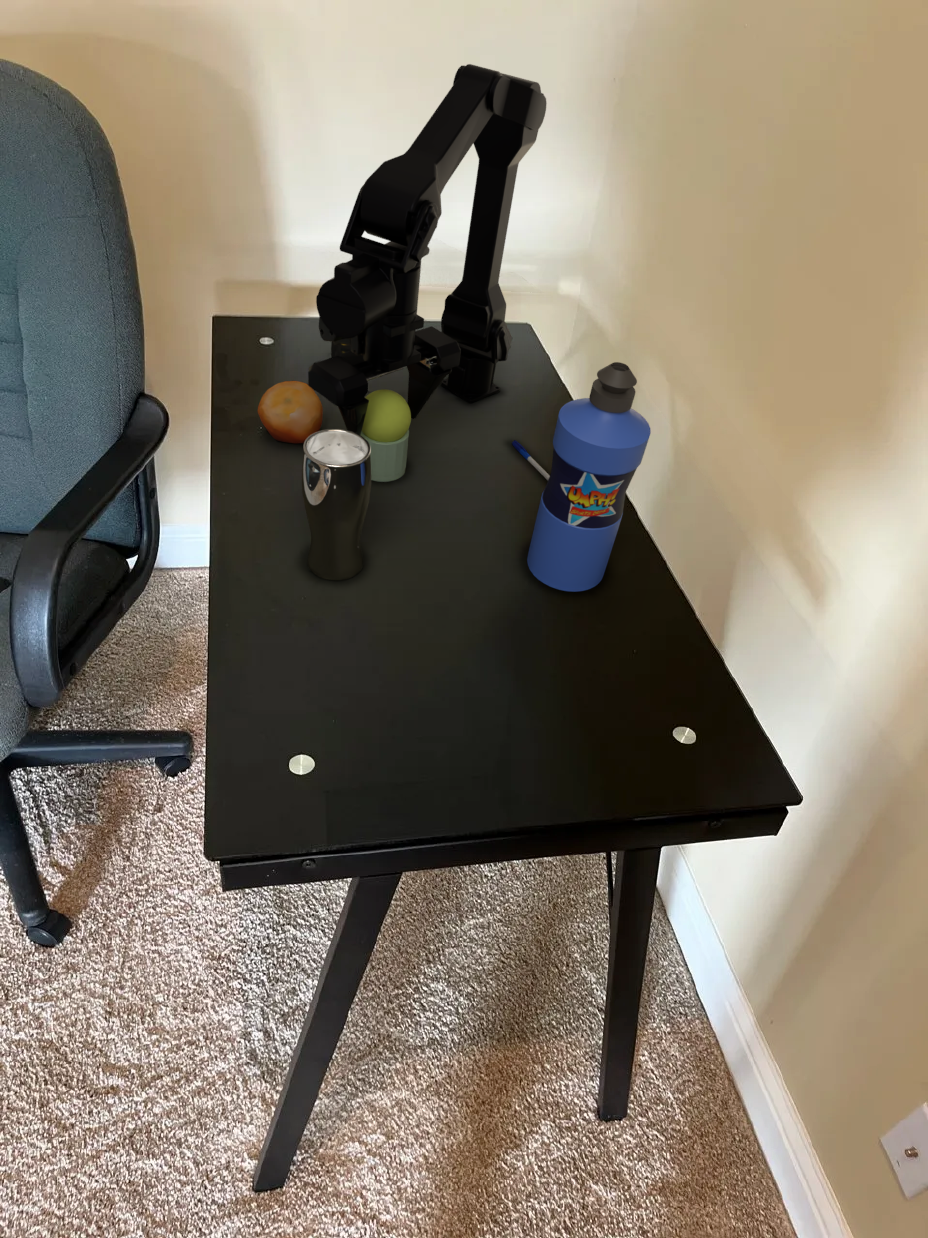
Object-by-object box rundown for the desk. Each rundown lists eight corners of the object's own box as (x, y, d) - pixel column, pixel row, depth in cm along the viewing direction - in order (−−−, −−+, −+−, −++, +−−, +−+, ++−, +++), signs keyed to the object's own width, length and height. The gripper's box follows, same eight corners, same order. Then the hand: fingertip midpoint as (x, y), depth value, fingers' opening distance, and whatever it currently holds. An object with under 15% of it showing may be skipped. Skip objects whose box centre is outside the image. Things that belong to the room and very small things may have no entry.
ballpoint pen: (509, 445, 113) (510, 439, 112) (514, 443, 113) (515, 437, 112) (553, 488, 107) (554, 481, 106) (559, 486, 107) (560, 480, 106)
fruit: (333, 408, 111) (326, 376, 103) (321, 461, 109) (312, 433, 101) (274, 398, 111) (262, 365, 103) (260, 451, 109) (247, 422, 101)
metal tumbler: (315, 589, 88) (315, 472, 77) (294, 549, 92) (291, 433, 81) (376, 575, 90) (384, 460, 80) (353, 537, 95) (357, 422, 84)
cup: (384, 448, 108) (386, 411, 104) (415, 471, 105) (419, 433, 102) (346, 463, 105) (347, 426, 101) (378, 487, 102) (380, 449, 98)
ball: (386, 420, 105) (388, 374, 101) (419, 443, 102) (424, 397, 98) (346, 435, 102) (347, 388, 97) (380, 459, 99) (382, 412, 94)
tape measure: (336, 376, 120) (336, 352, 117) (326, 353, 124) (326, 329, 122) (382, 373, 122) (383, 350, 119) (370, 351, 126) (371, 328, 124)
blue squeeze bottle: (525, 534, 99) (569, 337, 81) (602, 544, 99) (662, 350, 82) (525, 586, 92) (573, 384, 75) (607, 597, 93) (674, 398, 75)
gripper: (406, 261, 99) (397, 379, 110) (276, 293, 89) (280, 420, 99) (471, 297, 94) (455, 417, 105) (341, 336, 84) (338, 465, 94)
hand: (383, 428), depth 101 cm, fingers open, 9 cm apart
